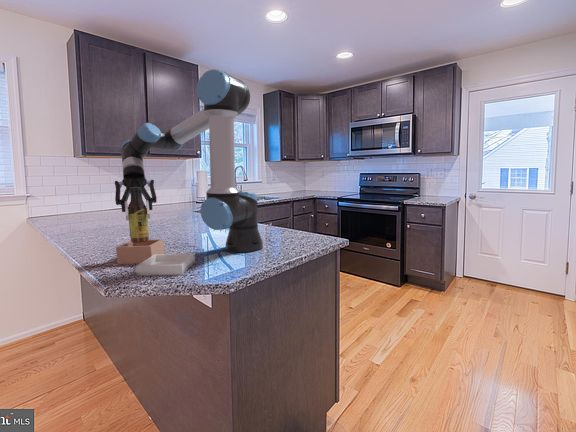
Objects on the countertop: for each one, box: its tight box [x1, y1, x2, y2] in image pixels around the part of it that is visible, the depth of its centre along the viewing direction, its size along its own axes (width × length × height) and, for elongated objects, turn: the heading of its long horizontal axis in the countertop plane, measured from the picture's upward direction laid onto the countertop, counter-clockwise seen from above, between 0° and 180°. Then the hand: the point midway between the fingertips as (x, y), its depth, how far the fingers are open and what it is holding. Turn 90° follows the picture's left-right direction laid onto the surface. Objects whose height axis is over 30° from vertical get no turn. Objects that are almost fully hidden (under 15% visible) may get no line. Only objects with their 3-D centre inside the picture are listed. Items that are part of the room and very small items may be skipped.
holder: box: [115, 238, 166, 265], centre depth 116 cm, size 12×12×6 cm
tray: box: [135, 253, 196, 277], centre depth 103 cm, size 14×14×3 cm
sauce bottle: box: [128, 187, 150, 243], centre depth 114 cm, size 7×6×20 cm
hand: (138, 217), depth 111 cm, fingers closed on sauce bottle, 6 cm apart
